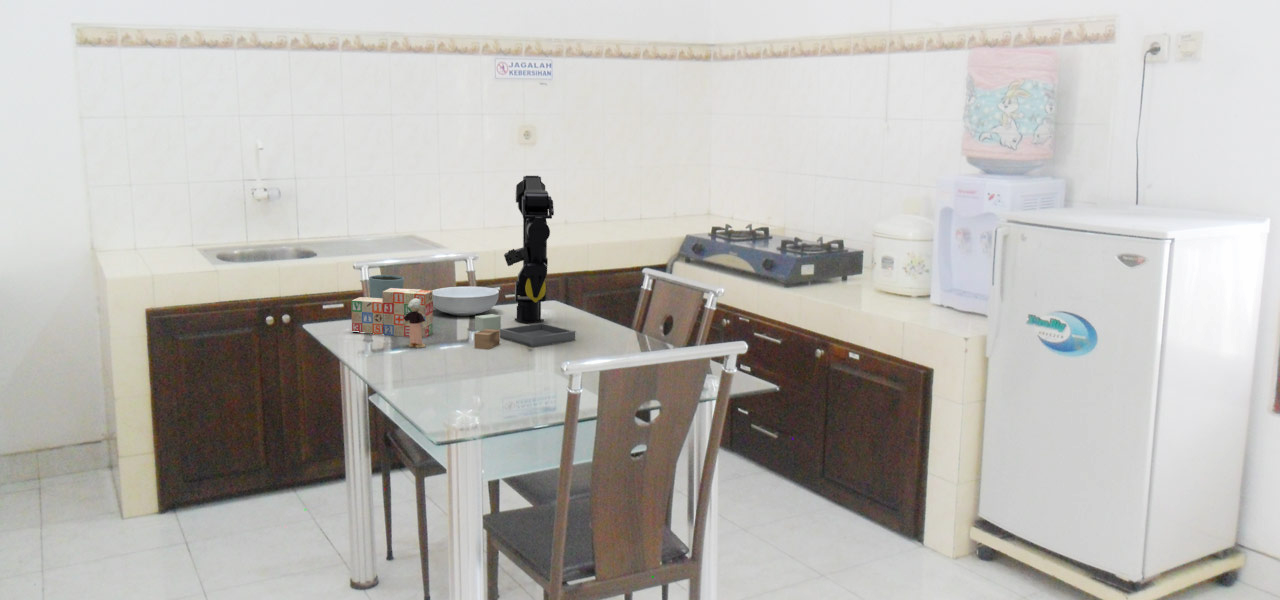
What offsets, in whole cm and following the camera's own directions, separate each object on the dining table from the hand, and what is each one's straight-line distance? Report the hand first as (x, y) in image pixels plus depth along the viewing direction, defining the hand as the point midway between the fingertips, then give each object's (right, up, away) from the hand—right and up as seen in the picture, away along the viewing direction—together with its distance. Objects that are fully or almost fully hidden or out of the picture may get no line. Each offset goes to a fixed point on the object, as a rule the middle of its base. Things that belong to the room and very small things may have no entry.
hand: (535, 295), depth 293 cm
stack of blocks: (-40, -11, +5) cm, 42 cm away
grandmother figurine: (-31, -13, -10) cm, 35 cm away
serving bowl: (-25, -5, +38) cm, 46 cm away
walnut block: (-12, -13, -8) cm, 20 cm away
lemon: (0, -2, 0) cm, 2 cm away
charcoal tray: (0, -12, +2) cm, 12 cm away
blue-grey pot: (-47, -6, +28) cm, 55 cm away
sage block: (-15, -10, +14) cm, 22 cm away
